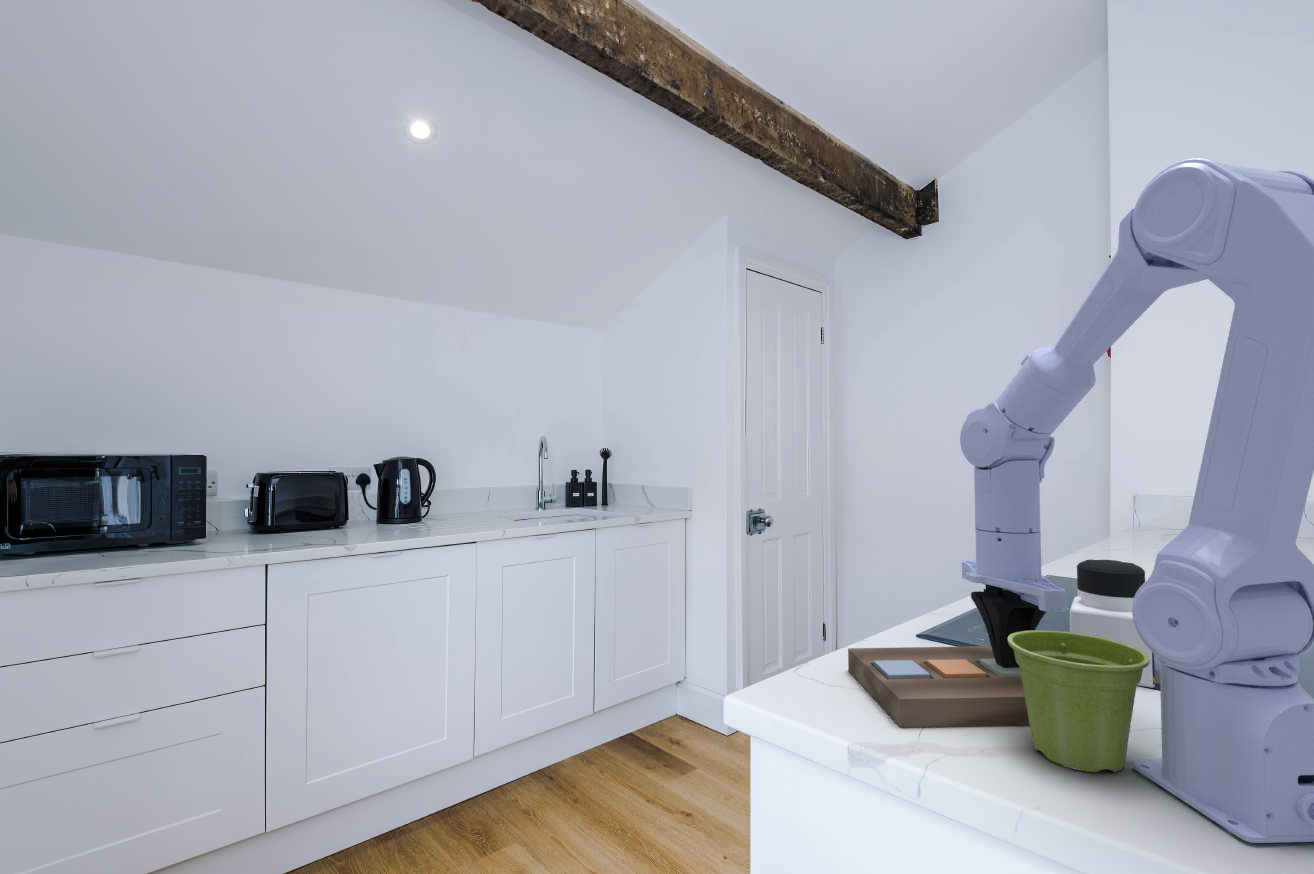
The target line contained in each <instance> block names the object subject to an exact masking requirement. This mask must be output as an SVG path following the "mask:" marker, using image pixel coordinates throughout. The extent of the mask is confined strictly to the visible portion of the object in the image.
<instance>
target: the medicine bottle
mask: <svg viewBox="0 0 1314 874" xmlns="http://www.w3.org/2000/svg"><path fill="white" fill-rule="evenodd" d="M1145 571H1146V570H1145V569H1144V568H1142V567H1141V566H1140V565H1137V564H1135V563H1134V562H1129V561H1123V560H1119V559H1118V560H1117V559H1107V558H1106V559H1104V558H1103V559H1102V558H1094V559H1093V558H1091V559H1085V560H1082V561H1080V562H1079V563H1078V564H1077V565H1076V578H1077V579H1076V583H1077V584H1076V585H1077V586H1076V587H1077V596H1075V597H1074V598H1073V601H1072V603H1071V606H1070V608H1069V632H1072V633H1079V634H1085V635H1091V636H1096V637H1101V638H1105V639H1109V640H1113V641H1117V642H1121V643H1124V644H1127V645H1130V646H1132V647H1135V648H1137V649H1139V650H1141V651H1143V652H1145V653H1146V654H1147V655H1148V656H1149V658H1150V663H1149V665H1148V666H1147V667H1146V668H1143V671H1142V676H1141V681H1140V682H1139V683H1138V684H1137V686H1139V687H1146V688H1150V689H1151V688H1152V689H1153V688H1155V686H1156V670H1155V668H1156V667H1155V666H1156V665H1155V664H1156V662H1154V653H1153V652H1152V651H1151V650H1150V649H1149V648H1148V647H1147V646H1146V645H1145V643H1144V642H1143V641H1142V639H1141V637H1140V636H1139V634H1138V632H1137V630H1136V627H1135V624H1134V621H1133V615H1132V604H1133V599H1134V597H1135V594H1136V592H1137V591H1138V589H1139V588H1140V587H1141V586H1142V585H1143V584H1144V583H1145V582H1146V572H1145Z"/></svg>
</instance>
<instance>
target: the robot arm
mask: <svg viewBox="0 0 1314 874" xmlns="http://www.w3.org/2000/svg"><path fill="white" fill-rule="evenodd" d="M1207 280H1208V281H1210V282H1211V283H1212V284H1213V285H1214V286H1216V287H1217V288H1218V290H1219V289H1220V291H1222V293H1224V294H1225V295H1226V296H1228V297H1229V298H1230V299H1231V301H1233V303H1234V309H1233V314H1232V318H1231V323H1230V328H1229V330H1228V331H1229V333H1228V336H1227V342H1226V346H1225V351H1224V354H1223V355H1224V356H1223V358H1222V359H1223V360H1222V365H1221V369H1220V374H1219V379H1218V385H1217V389H1216V394H1215V398H1214V401H1213V402H1214V404H1213V406H1212V407H1213V408H1212V413H1211V416H1210V421H1209V426H1208V431H1207V436H1206V441H1205V444H1204V448H1203V449H1204V450H1203V455H1202V458H1201V464H1200V468H1199V472H1198V478H1197V482H1196V487H1195V492H1194V497H1193V500H1192V505H1191V512H1190V515H1189V520H1188V524H1187V525H1186V527H1184V529H1183V530H1182V531H1181V532H1179V534H1177V535H1176V536H1175V537H1173V538H1172V539H1171V540H1170V541H1169V542H1168V543H1167V544H1166V545H1165V546H1164V547H1163V548H1161V550H1160V551H1158V553H1157V554H1156V558H1155V561H1154V566H1153V569H1152V572H1151V574H1150V576H1149V577H1148V579H1146V580H1145V583H1144V584H1143V585H1142V586H1141V587H1140V588H1139V589H1138V591H1137V592H1136V594H1135V597H1134V599H1133V604H1132V615H1133V621H1134V624H1135V627H1136V630H1137V632H1138V634H1139V636H1140V637H1141V639H1142V641H1143V642H1144V643H1145V645H1146V646H1147V647H1148V648H1149V649H1150V650H1151V651H1152V652H1153V653H1154V662H1155V664H1158V665H1159V679H1160V680H1159V682H1160V716H1161V717H1160V720H1161V723H1160V724H1161V725H1160V727H1161V757H1162V759H1135V760H1134V759H1133V760H1131V768H1133V769H1134V770H1135V771H1137V772H1139V773H1140V774H1141V775H1143V776H1144V777H1146V778H1147V779H1149V780H1151V781H1152V782H1154V783H1155V784H1157V785H1158V786H1160V787H1162V788H1163V789H1164V790H1165V791H1168V792H1169V793H1171V794H1172V795H1174V796H1175V797H1177V798H1179V800H1182V801H1183V802H1185V803H1186V804H1188V805H1189V806H1191V807H1192V808H1193V809H1195V810H1197V811H1198V812H1199V813H1201V814H1202V815H1204V816H1206V817H1207V818H1209V819H1210V820H1212V821H1214V822H1215V823H1217V824H1218V825H1219V826H1221V827H1223V828H1224V829H1225V830H1227V831H1228V832H1230V833H1232V834H1233V835H1235V836H1236V837H1238V838H1240V839H1241V840H1243V841H1244V842H1248V843H1250V844H1252V843H1253V844H1271V843H1276V844H1277V843H1280V844H1281V843H1312V842H1314V698H1313V697H1312V696H1311V695H1310V694H1308V693H1307V692H1306V691H1305V689H1304V688H1303V687H1302V686H1301V684H1300V683H1299V681H1298V680H1299V673H1300V672H1301V669H1300V668H1301V667H1300V666H1301V664H1300V663H1301V662H1300V656H1302V655H1305V654H1308V653H1309V652H1310V651H1311V650H1313V648H1314V563H1313V562H1312V561H1311V560H1310V559H1309V558H1308V557H1307V556H1306V555H1305V554H1304V553H1303V551H1302V550H1301V549H1300V548H1299V547H1298V546H1297V539H1298V535H1299V531H1300V527H1301V524H1302V519H1303V515H1304V511H1305V508H1306V503H1307V499H1308V495H1309V491H1310V487H1311V483H1312V479H1313V475H1314V178H1312V177H1310V176H1309V175H1306V174H1304V173H1301V172H1297V171H1291V170H1286V171H1285V170H1284V171H1283V170H1281V171H1280V170H1277V171H1275V170H1268V169H1261V168H1255V167H1248V166H1242V165H1236V164H1235V165H1234V164H1227V163H1221V162H1218V161H1215V160H1212V159H1210V158H1204V157H1203V158H1201V157H1194V158H1188V159H1184V160H1180V161H1177V162H1175V163H1172V164H1171V165H1169V166H1167V167H1165V169H1164V168H1163V169H1162V170H1161V171H1160V172H1159V173H1157V175H1155V176H1154V177H1153V178H1152V179H1151V180H1150V181H1149V182H1148V183H1147V185H1145V187H1144V188H1143V190H1142V191H1141V193H1140V195H1139V197H1138V199H1137V201H1136V203H1135V206H1134V207H1133V208H1131V210H1130V211H1129V212H1128V213H1126V214H1125V216H1124V217H1123V218H1122V219H1121V221H1120V222H1119V228H1118V245H1117V250H1116V251H1115V253H1114V255H1113V257H1112V258H1111V260H1110V261H1109V263H1108V264H1107V266H1106V267H1105V269H1104V270H1103V271H1102V273H1101V275H1100V276H1099V278H1098V279H1097V281H1096V282H1095V284H1094V285H1093V287H1092V289H1091V290H1090V291H1089V293H1088V295H1087V296H1086V298H1085V299H1084V300H1083V302H1082V304H1081V305H1080V306H1079V308H1078V309H1077V311H1076V313H1075V314H1074V316H1073V317H1072V319H1071V321H1070V322H1069V323H1068V325H1067V326H1066V328H1065V329H1064V331H1063V332H1062V334H1061V335H1060V337H1059V339H1058V340H1057V341H1056V342H1055V343H1054V344H1053V345H1051V346H1050V345H1049V346H1044V347H1039V348H1037V349H1035V350H1033V351H1032V352H1031V353H1030V354H1028V353H1027V354H1026V356H1025V357H1024V358H1023V360H1022V361H1021V362H1020V365H1021V367H1020V369H1019V370H1018V371H1017V372H1016V374H1015V375H1014V377H1013V378H1012V379H1011V380H1010V382H1009V383H1008V384H1007V386H1006V387H1005V389H1004V390H1003V391H1002V392H1001V394H999V396H998V397H997V398H996V399H995V401H994V402H991V403H988V404H987V405H986V406H985V407H983V408H977V409H975V410H973V411H971V412H970V413H969V414H967V417H966V418H965V421H964V422H963V424H962V426H961V430H960V434H959V441H960V442H959V443H960V447H961V452H962V454H963V456H964V458H965V459H966V460H967V462H969V463H970V464H971V465H973V472H974V473H973V474H974V477H973V478H974V481H973V482H974V521H975V523H974V524H975V525H974V526H975V527H974V529H975V532H974V533H975V560H962V561H961V578H962V579H964V580H966V581H968V582H971V583H976V584H983V585H985V588H984V589H983V590H982V591H971V593H970V598H971V600H972V602H973V604H974V605H975V607H976V608H977V609H978V612H979V614H980V616H981V618H982V621H983V623H984V627H985V629H986V633H987V635H988V639H989V643H990V646H991V647H992V651H993V654H994V658H995V661H996V664H998V665H1000V666H1001V667H1003V668H1019V665H1018V664H1017V662H1016V660H1015V654H1014V650H1013V648H1012V647H1011V646H1010V645H1009V644H1008V636H1009V635H1010V634H1013V633H1016V632H1021V631H1032V630H1036V629H1037V628H1038V626H1039V624H1040V622H1041V621H1042V618H1043V617H1044V616H1045V615H1046V613H1051V612H1053V613H1054V612H1055V613H1056V612H1058V613H1059V612H1061V613H1062V612H1063V613H1064V612H1068V603H1067V601H1068V598H1067V597H1068V596H1067V590H1066V589H1064V588H1061V587H1059V586H1057V585H1056V584H1054V583H1053V582H1051V581H1050V580H1049V579H1047V578H1046V577H1045V576H1044V575H1042V541H1041V540H1042V539H1041V538H1042V537H1041V535H1042V534H1041V494H1040V493H1041V491H1040V489H1041V487H1040V486H1041V485H1040V484H1041V483H1042V482H1043V479H1044V478H1045V466H1046V464H1047V461H1048V460H1049V458H1050V457H1051V455H1052V452H1053V450H1054V446H1055V437H1054V436H1051V435H1052V434H1053V433H1054V432H1055V431H1056V429H1058V427H1059V426H1060V425H1061V424H1062V423H1063V422H1064V421H1065V420H1066V418H1067V417H1069V415H1070V414H1071V412H1073V410H1074V409H1075V408H1076V407H1077V405H1078V404H1079V403H1080V402H1081V401H1082V400H1083V399H1084V398H1085V397H1086V395H1087V394H1088V393H1089V392H1090V391H1091V389H1093V388H1094V387H1095V384H1096V382H1097V381H1096V373H1095V368H1094V365H1095V364H1096V362H1097V361H1098V360H1099V359H1100V358H1101V357H1102V356H1103V355H1104V354H1105V353H1106V352H1107V351H1108V350H1109V349H1111V347H1112V346H1113V345H1114V344H1115V343H1116V342H1117V341H1118V340H1119V339H1120V338H1121V336H1123V335H1124V333H1126V332H1127V331H1128V330H1129V328H1130V327H1131V326H1133V324H1135V323H1136V321H1138V320H1139V318H1140V317H1142V315H1143V314H1144V313H1145V312H1146V311H1147V310H1148V309H1149V308H1150V307H1151V306H1152V305H1153V304H1154V303H1155V302H1156V301H1157V300H1158V299H1159V298H1160V297H1161V295H1163V294H1164V293H1165V292H1167V291H1169V290H1172V289H1176V288H1180V287H1184V286H1187V285H1191V284H1195V283H1198V282H1203V281H1207Z"/></svg>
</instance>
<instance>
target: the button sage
mask: <svg viewBox="0 0 1314 874" xmlns="http://www.w3.org/2000/svg"><path fill="white" fill-rule="evenodd" d="M980 664H981V665H982V666H984V667H985V668H987V669H988V670H990V671H992V672H993V673H995V674H996V675H998V676H999V677H1021V673H1020V668H1003V667H1001V666H1000V665H998V664H996V661H995V659H980Z"/></svg>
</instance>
